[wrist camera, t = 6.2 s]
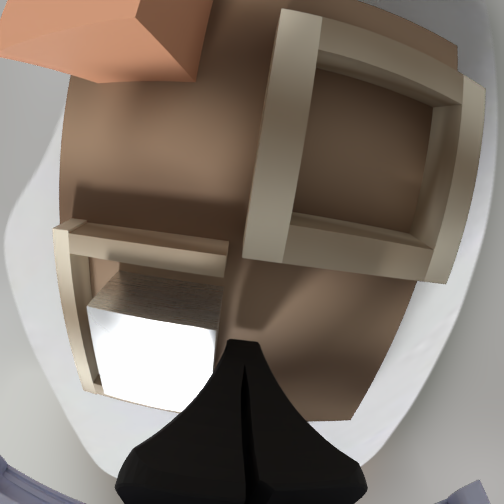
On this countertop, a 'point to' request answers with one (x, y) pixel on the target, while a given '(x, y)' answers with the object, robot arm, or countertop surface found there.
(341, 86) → the wooden compartment tray
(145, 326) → the block
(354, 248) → the collar
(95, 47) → the terracotta rectangular block
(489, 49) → the countertop surface
